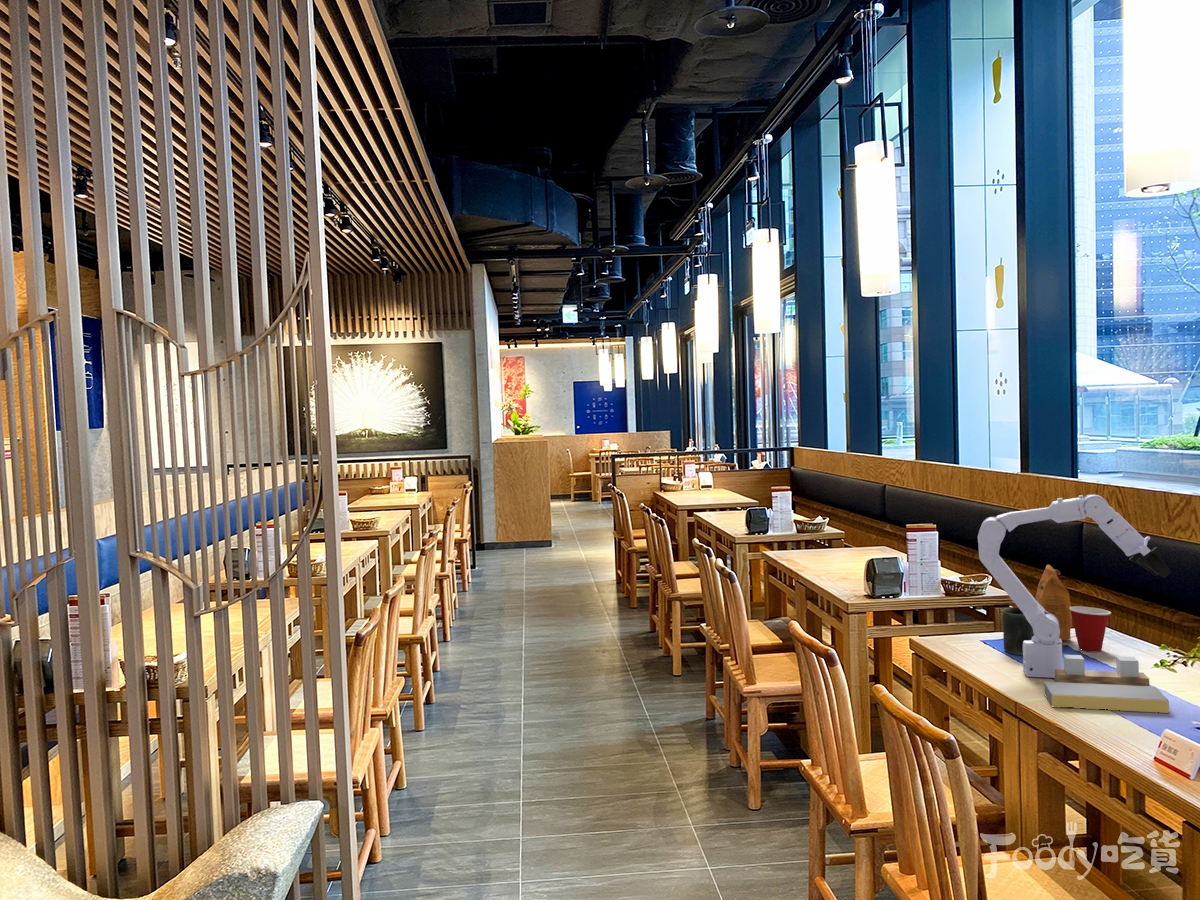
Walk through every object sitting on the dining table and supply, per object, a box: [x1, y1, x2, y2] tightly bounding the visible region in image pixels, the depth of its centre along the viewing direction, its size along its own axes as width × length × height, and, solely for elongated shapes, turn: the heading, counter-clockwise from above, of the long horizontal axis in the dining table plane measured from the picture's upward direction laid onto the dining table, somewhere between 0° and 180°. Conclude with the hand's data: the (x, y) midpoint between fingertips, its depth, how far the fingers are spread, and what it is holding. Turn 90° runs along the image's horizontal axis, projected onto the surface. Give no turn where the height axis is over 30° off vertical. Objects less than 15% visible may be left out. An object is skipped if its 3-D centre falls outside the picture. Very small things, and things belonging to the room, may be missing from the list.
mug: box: [1000, 606, 1034, 656], centre depth 265 cm, size 11×15×12 cm
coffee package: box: [1035, 564, 1073, 641], centre depth 279 cm, size 10×12×22 cm
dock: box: [1043, 681, 1170, 714], centre depth 214 cm, size 24×11×3 cm, turn 72°
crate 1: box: [1063, 654, 1086, 675], centre depth 228 cm, size 4×4×4 cm
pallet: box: [1054, 668, 1151, 686], centre depth 226 cm, size 20×6×4 cm, turn 72°
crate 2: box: [1115, 655, 1140, 677], centre depth 224 cm, size 4×4×4 cm
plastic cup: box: [1069, 605, 1112, 652], centre depth 263 cm, size 11×11×12 cm
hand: (1163, 574), depth 228 cm, fingers open, 7 cm apart
